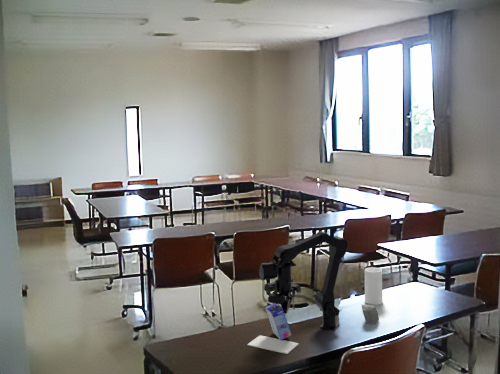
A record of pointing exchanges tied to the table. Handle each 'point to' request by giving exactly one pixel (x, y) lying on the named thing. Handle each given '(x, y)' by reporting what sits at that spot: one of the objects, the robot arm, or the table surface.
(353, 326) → the table surface
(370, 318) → the mineral specimen
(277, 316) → the ink cartridge box
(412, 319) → the table surface
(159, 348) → the table surface
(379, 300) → the cup
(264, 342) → the mat
